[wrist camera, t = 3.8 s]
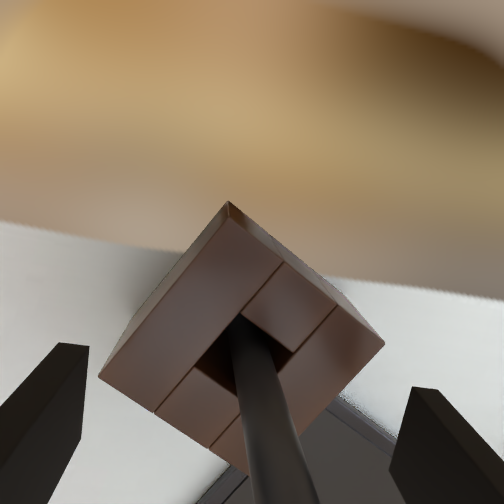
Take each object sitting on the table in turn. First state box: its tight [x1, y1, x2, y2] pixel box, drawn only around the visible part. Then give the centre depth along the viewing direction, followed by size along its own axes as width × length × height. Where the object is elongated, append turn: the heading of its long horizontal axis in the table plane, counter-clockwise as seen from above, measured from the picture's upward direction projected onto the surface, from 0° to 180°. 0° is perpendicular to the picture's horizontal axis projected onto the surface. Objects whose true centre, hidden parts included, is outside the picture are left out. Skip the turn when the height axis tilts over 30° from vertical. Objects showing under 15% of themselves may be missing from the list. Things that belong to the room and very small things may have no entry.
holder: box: [98, 201, 385, 477], centre depth 16 cm, size 7×7×5 cm
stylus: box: [227, 312, 320, 504], centre depth 12 cm, size 1×1×14 cm
